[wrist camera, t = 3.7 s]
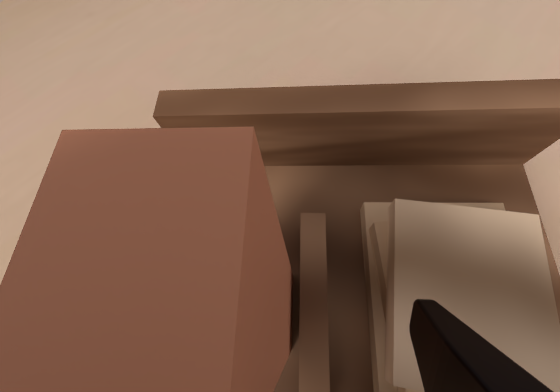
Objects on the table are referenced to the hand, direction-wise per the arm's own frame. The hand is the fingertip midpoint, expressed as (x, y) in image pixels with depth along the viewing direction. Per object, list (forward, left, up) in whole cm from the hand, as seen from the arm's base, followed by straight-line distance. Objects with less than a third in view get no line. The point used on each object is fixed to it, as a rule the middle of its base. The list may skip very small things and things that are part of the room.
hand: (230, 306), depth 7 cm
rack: (0, -5, -9) cm, 10 cm away
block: (0, 0, -8) cm, 8 cm away
